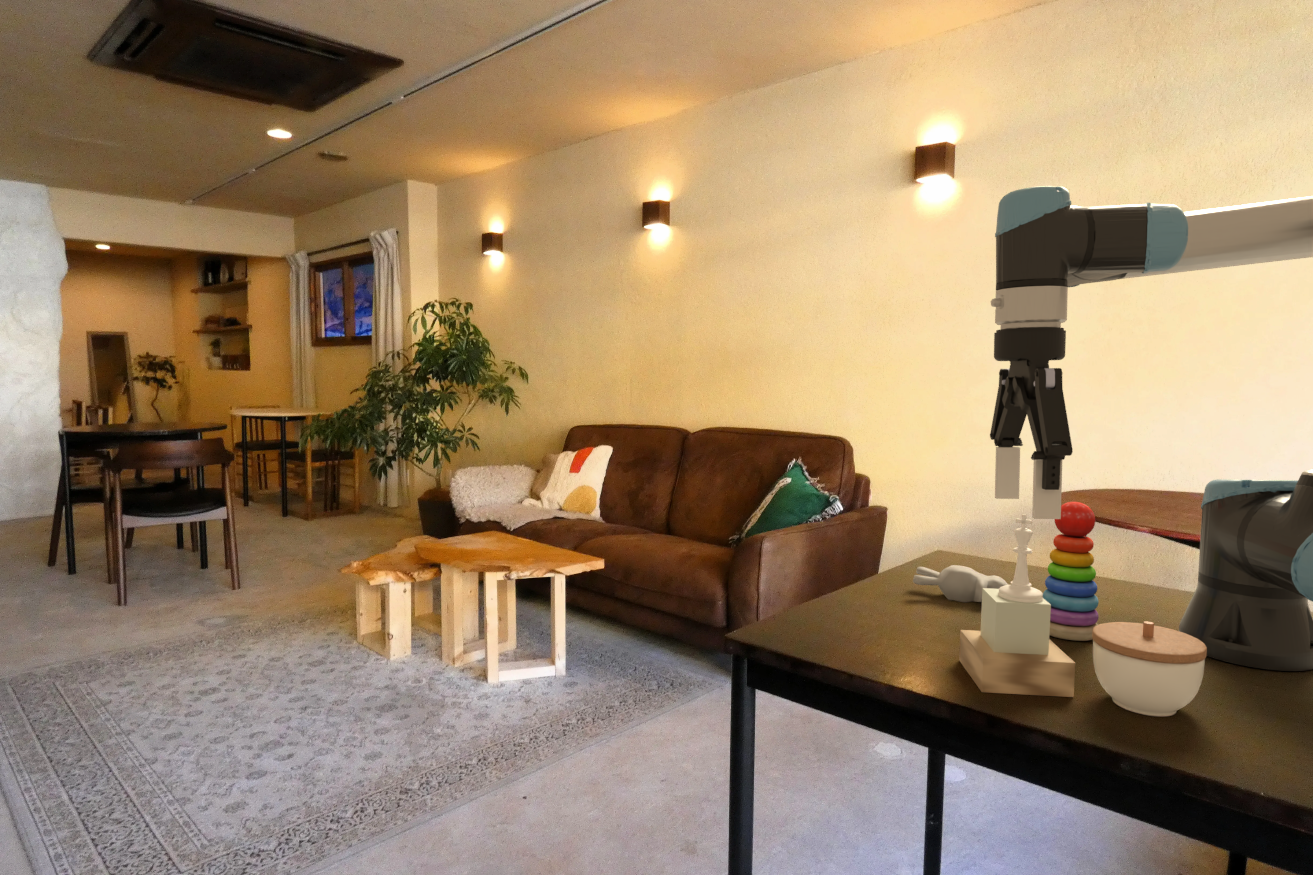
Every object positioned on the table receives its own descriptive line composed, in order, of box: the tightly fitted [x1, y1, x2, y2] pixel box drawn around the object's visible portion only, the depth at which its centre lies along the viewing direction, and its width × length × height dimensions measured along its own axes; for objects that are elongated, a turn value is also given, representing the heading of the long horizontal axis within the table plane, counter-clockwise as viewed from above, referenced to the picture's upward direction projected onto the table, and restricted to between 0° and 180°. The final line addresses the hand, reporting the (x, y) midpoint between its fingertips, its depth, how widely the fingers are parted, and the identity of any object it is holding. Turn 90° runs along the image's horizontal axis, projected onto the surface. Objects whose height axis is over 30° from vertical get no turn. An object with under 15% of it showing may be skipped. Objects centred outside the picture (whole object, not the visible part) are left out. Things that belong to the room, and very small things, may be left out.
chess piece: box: [998, 513, 1044, 603], centre depth 93 cm, size 5×5×10 cm
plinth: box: [958, 629, 1076, 698], centre depth 94 cm, size 10×10×4 cm
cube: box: [980, 588, 1051, 655], centre depth 94 cm, size 6×6×6 cm
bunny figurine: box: [912, 564, 1009, 603], centre depth 127 cm, size 10×5×15 cm
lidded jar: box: [1092, 620, 1207, 718], centre depth 87 cm, size 11×11×9 cm
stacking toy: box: [1042, 501, 1099, 642], centre depth 110 cm, size 8×8×19 cm
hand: (1025, 508), depth 93 cm, fingers open, 13 cm apart
